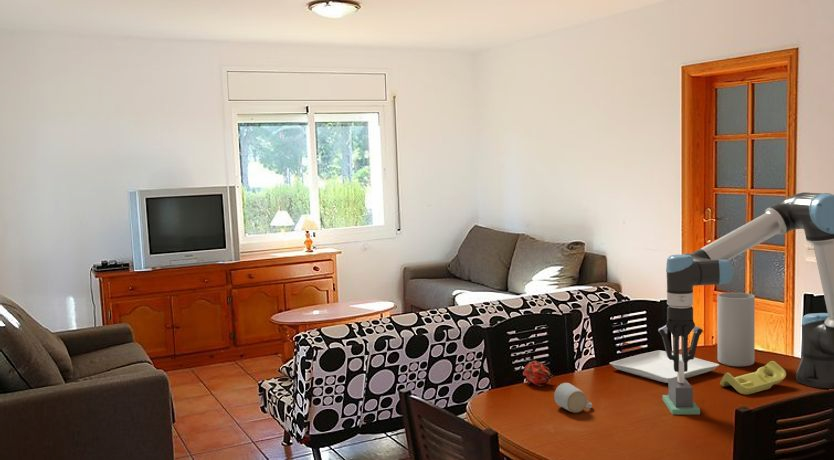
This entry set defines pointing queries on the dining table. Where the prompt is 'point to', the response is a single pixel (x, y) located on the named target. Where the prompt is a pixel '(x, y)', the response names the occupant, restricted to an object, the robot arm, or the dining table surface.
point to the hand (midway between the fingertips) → (680, 381)
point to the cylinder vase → (736, 328)
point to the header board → (680, 410)
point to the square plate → (660, 366)
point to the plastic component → (755, 379)
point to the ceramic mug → (571, 398)
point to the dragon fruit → (537, 373)
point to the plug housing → (680, 393)
